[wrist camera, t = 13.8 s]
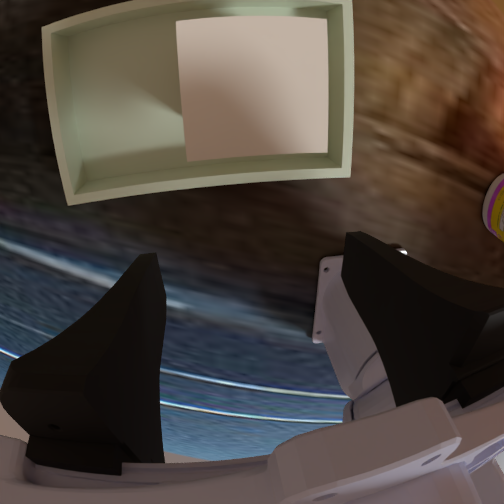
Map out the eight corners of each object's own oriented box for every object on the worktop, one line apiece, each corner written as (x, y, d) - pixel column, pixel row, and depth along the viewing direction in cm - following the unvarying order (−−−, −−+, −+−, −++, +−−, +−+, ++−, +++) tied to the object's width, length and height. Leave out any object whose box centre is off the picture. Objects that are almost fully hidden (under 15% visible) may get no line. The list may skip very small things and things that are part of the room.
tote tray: (333, 163, 21) (350, 177, 19) (83, 188, 20) (67, 205, 17) (332, 5, 15) (351, -4, 13) (62, 31, 14) (41, 27, 11)
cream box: (290, 127, 14) (327, 152, 10) (193, 134, 14) (186, 161, 10) (288, 35, 12) (326, 19, 8) (186, 39, 11) (175, 21, 7)
